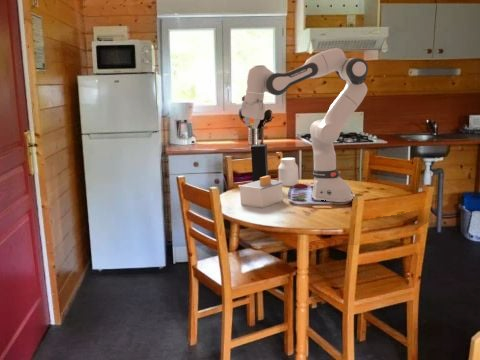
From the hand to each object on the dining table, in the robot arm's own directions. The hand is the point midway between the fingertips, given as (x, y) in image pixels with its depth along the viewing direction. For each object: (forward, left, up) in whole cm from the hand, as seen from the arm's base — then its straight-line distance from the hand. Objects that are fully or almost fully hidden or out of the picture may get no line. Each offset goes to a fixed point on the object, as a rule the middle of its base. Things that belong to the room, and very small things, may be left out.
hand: (251, 127), depth 235 cm
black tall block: (+18, -25, -38) cm, 49 cm away
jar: (+11, -42, -38) cm, 58 cm away
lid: (-4, 0, -29) cm, 29 cm away
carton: (-4, 0, -38) cm, 38 cm away
